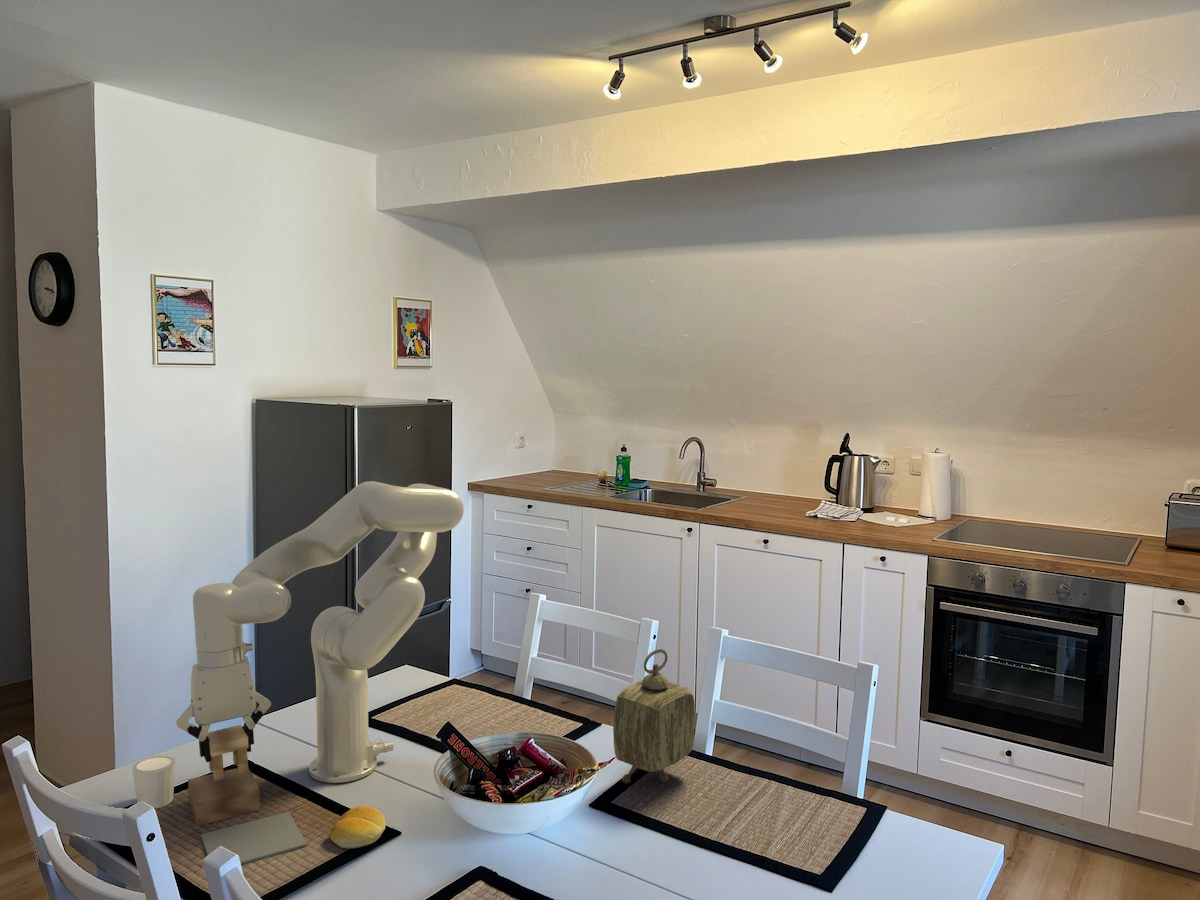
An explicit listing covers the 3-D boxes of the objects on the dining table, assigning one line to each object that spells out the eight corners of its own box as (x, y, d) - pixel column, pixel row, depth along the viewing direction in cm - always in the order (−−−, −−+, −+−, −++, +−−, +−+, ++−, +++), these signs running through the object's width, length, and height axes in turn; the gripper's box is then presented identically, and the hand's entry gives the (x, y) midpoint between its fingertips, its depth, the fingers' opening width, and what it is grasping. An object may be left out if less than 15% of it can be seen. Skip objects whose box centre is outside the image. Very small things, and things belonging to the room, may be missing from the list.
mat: (289, 813, 150) (288, 811, 150) (307, 846, 140) (306, 843, 140) (201, 836, 142) (201, 834, 142) (213, 872, 132) (213, 870, 132)
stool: (243, 758, 157) (241, 724, 156) (250, 772, 152) (247, 736, 151) (207, 767, 154) (205, 733, 153) (213, 781, 149) (210, 745, 148)
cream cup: (159, 813, 150) (157, 774, 149) (124, 808, 151) (122, 770, 151) (185, 794, 157) (184, 757, 156) (152, 790, 158) (150, 753, 157)
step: (248, 786, 160) (247, 765, 159) (259, 810, 151) (259, 788, 151) (188, 800, 154) (188, 779, 154) (197, 825, 146) (196, 803, 145)
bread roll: (322, 848, 140) (321, 824, 139) (348, 820, 149) (347, 797, 148) (369, 853, 138) (369, 830, 138) (393, 825, 147) (392, 802, 147)
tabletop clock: (659, 758, 173) (661, 636, 170) (696, 773, 167) (699, 646, 164) (612, 784, 162) (614, 654, 160) (650, 800, 156) (652, 665, 154)
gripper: (267, 640, 158) (273, 734, 160) (163, 659, 149) (170, 759, 151) (277, 651, 152) (283, 749, 154) (168, 672, 142) (176, 776, 145)
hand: (227, 753), depth 152 cm, fingers closed on stool, 6 cm apart
